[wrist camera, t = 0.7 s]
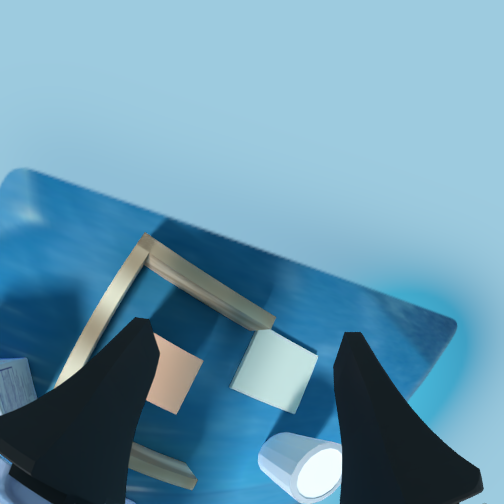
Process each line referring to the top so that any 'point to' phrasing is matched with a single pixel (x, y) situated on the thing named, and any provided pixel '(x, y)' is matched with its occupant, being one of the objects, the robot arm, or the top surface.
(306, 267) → the top surface
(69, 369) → the birch pen
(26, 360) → the medicine box
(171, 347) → the terracotta block
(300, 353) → the rubber mat
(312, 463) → the white cup
